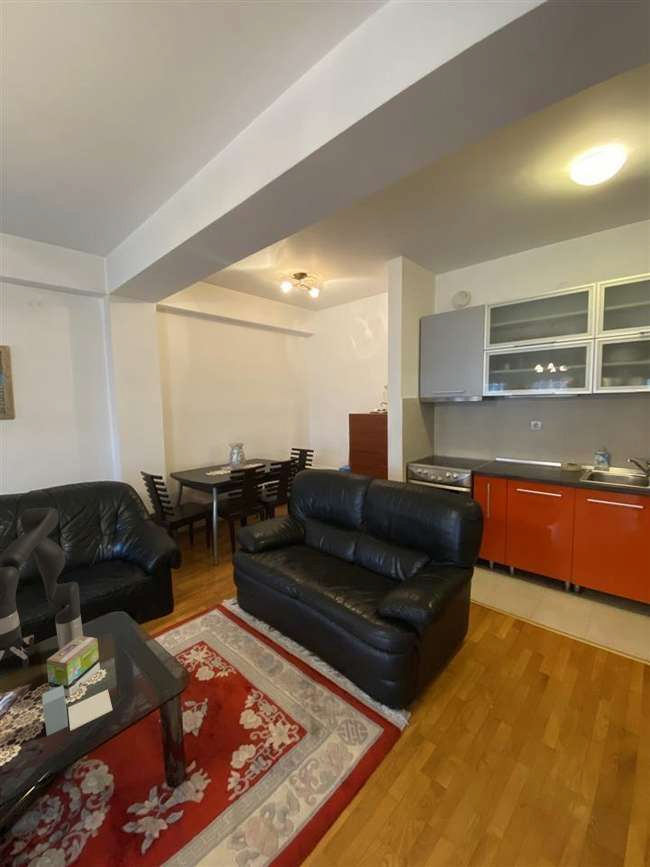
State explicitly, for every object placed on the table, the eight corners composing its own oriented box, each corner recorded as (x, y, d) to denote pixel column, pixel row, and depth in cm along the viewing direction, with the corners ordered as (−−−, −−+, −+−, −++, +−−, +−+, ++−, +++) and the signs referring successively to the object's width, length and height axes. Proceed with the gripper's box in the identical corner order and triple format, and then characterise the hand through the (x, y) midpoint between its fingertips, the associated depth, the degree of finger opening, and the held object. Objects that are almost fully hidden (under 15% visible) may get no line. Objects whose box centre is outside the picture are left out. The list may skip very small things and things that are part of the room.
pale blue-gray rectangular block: (46, 724, 131) (42, 693, 129) (67, 714, 134) (63, 685, 133) (46, 736, 126) (42, 704, 125) (68, 726, 130) (64, 695, 128)
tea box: (70, 697, 142) (66, 663, 140) (49, 694, 144) (44, 660, 142) (101, 668, 157) (97, 637, 155) (81, 666, 159) (77, 634, 157)
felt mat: (68, 708, 137) (68, 707, 137) (107, 690, 145) (107, 689, 145) (70, 731, 128) (70, 730, 128) (112, 710, 136) (112, 709, 136)
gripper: (32, 612, 126) (38, 656, 128) (-24, 630, 118) (-17, 677, 120) (32, 623, 121) (38, 669, 123) (-28, 642, 112) (-20, 692, 114)
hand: (11, 673), depth 121 cm, fingers open, 6 cm apart
